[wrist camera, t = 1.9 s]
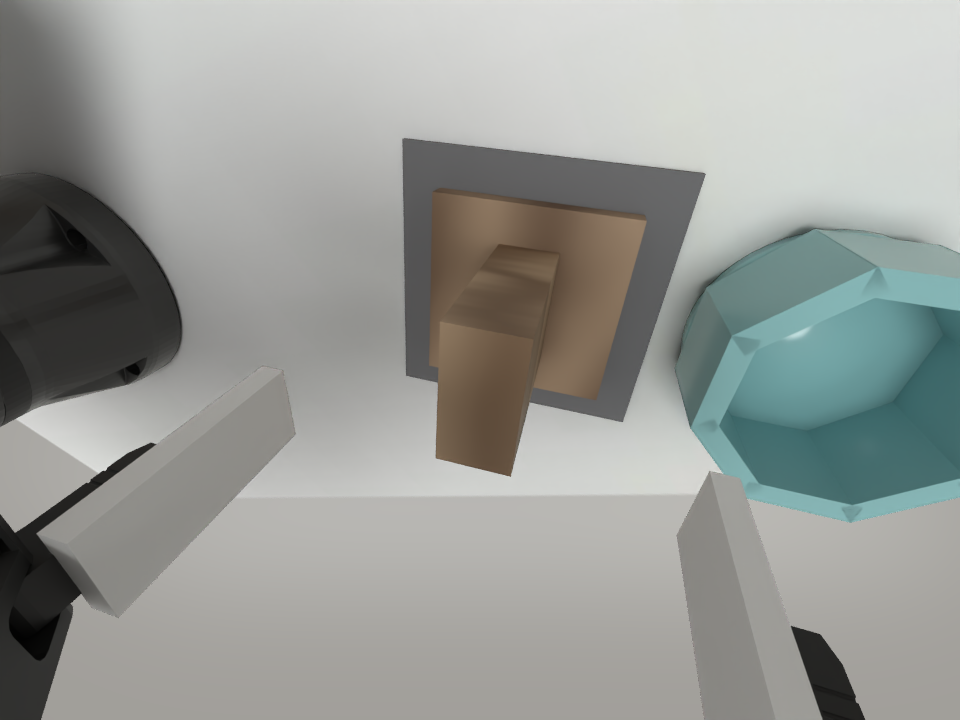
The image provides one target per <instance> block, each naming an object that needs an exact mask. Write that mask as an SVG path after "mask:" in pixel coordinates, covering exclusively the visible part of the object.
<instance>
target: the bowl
mask: <svg viewBox="0 0 960 720" xmlns="http://www.w3.org/2000/svg"><path fill="white" fill-rule="evenodd" d="M675 371H676V375H677V379H678V383H679V387H680V390H681V394H682V398H683V402H684V406H685V410H686V413H687V417H688V421H689V425H690V428H691V429H692V431H693V432H694V434H695V435H696V436H697V438H698V439H699V440H700V442H701V443H702V445H703V446H704V447H705V449H706V450H707V452H708V453H709V454H710V456H711V457H712V458H713V460H714V461H715V463H716V464H717V465H718V467H719V468H720V470H721V471H722V472H723V474H724V475H729V476H733V477H737V478H740V480H741V482H742V485H743V488H744V491H745V494H746V497H747V499H751V500H756V501H760V502H764V503H769V504H773V505H777V506H782V507H786V508H790V509H795V510H799V511H803V512H808V513H812V514H816V515H821V516H824V517H829V518H833V519H838V520H842V521H846V522H850V523H851V522H855V521H859V520H864V519H868V518H873V517H876V516H881V515H885V514H890V513H894V512H898V511H903V510H907V509H911V508H916V507H920V506H924V505H929V504H933V503H937V502H942V501H946V500H950V499H955V498H959V497H960V253H957V252H955V251H953V250H950V249H948V248H946V247H943V246H941V245H934V244H926V243H919V242H911V241H904V240H897V239H894V238H891V237H888V236H885V235H882V234H878V233H872V232H867V231H860V230H845V229H843V230H820V229H814V230H812V231H810V232H808V233H805V234H801V235H797V236H793V237H789V238H786V239H783V240H780V241H778V242H775V243H772V244H770V245H767V246H765V247H763V248H761V249H759V250H757V251H755V252H753V253H751V254H749V255H747V256H746V257H744V258H743V259H741V260H739V261H738V262H736V263H735V264H733V265H732V266H731V267H730V268H728V269H727V270H726V271H724V272H723V273H722V274H721V275H720V276H719V277H718V278H717V279H716V280H715V281H713V282H712V283H711V284H710V285H709V286H708V287H706V289H705V291H704V293H703V294H702V295H701V296H700V298H699V299H698V301H697V302H696V304H695V306H694V307H693V309H692V311H691V313H690V315H689V317H688V319H687V322H686V325H685V328H684V332H683V336H682V343H681V354H680V356H679V359H678V361H677V364H676V367H675Z"/></svg>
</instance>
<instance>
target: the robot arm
mask: <svg viewBox="0 0 960 720" xmlns="http://www.w3.org/2000/svg"><path fill="white" fill-rule="evenodd" d="M179 341H180V322H179V315H178V311H177V307H176V304H175V301H174V298H173V295H172V293H171V290H170V288H169V286H168V284H167V282H166V280H165V278H164V276H163V274H162V272H161V270H160V269H159V267H158V265H157V264H156V262H155V261H154V259H153V258H152V256H151V255H150V253H149V252H148V251H147V249H146V248H145V247H144V245H143V244H142V243H141V242H140V240H139V239H138V238H137V237H136V236H135V235H134V233H133V232H132V231H131V230H130V229H129V228H128V227H127V226H126V225H125V224H124V223H123V222H122V221H121V220H120V219H119V218H118V217H117V216H116V215H115V214H113V213H112V212H111V211H110V210H109V209H108V208H106V207H105V206H104V205H103V204H101V203H100V202H99V201H97V200H96V199H95V198H93V197H92V196H90V195H89V194H87V193H86V192H84V191H82V190H81V189H79V188H77V187H75V186H73V185H71V184H69V183H67V182H65V181H63V180H60V179H57V178H55V177H51V176H48V175H43V174H37V173H23V174H15V175H6V176H0V427H1V426H3V425H5V424H7V423H8V422H10V421H12V420H14V419H16V418H18V417H20V416H22V415H24V414H25V413H27V412H29V411H31V410H33V409H35V408H38V407H41V406H44V405H48V404H52V403H56V402H60V401H64V400H68V399H72V398H76V397H80V396H84V395H88V394H92V393H96V392H100V391H104V390H108V389H112V388H116V387H120V386H124V385H128V384H131V383H134V382H136V381H139V380H141V379H143V378H145V377H146V376H148V375H150V374H151V373H153V372H155V371H156V370H158V369H160V368H161V367H163V366H165V365H166V364H167V363H168V362H170V361H171V359H172V358H173V357H174V355H175V353H176V351H177V349H178V345H179ZM295 434H296V433H295V428H294V423H293V418H292V413H291V408H290V403H289V398H288V393H287V388H286V383H285V378H284V373H283V370H279V369H275V368H270V367H266V366H262V367H260V368H259V369H257V370H256V371H255V372H253V373H252V374H251V375H249V376H248V377H247V378H245V379H244V380H243V381H241V382H240V383H239V384H237V385H236V386H235V387H233V388H232V389H231V390H229V391H228V392H227V393H225V394H224V395H222V396H221V397H220V398H218V399H217V400H216V401H214V402H213V403H212V404H210V405H209V406H208V407H206V408H205V409H204V410H202V411H201V412H200V413H198V414H197V415H196V416H194V417H193V418H191V419H190V420H189V421H187V422H186V423H185V424H183V425H182V426H181V427H179V428H178V429H177V430H175V431H174V432H173V433H171V434H170V435H169V436H167V437H166V438H165V439H163V440H162V441H160V442H159V443H158V444H154V443H149V444H147V445H145V446H143V447H140V448H138V449H136V450H134V451H132V452H129V453H127V454H126V455H124V456H123V457H122V458H120V459H119V460H117V461H116V462H115V463H113V464H112V465H110V466H109V467H108V468H107V470H106V471H102V472H101V473H99V474H98V475H96V476H95V477H94V478H93V479H91V481H90V482H89V483H85V484H84V485H82V486H81V487H80V488H78V489H77V490H76V491H74V492H73V493H72V494H70V495H69V496H67V497H66V498H64V499H63V500H62V501H60V502H59V503H57V504H56V505H55V506H53V507H52V508H50V509H49V510H48V511H46V512H45V513H43V514H42V515H41V516H39V517H38V518H37V519H35V520H34V521H32V522H31V523H30V524H28V525H27V526H25V527H24V528H22V529H20V530H19V531H17V532H16V533H14V531H13V530H12V529H11V527H10V526H9V525H8V524H7V522H6V521H5V520H4V518H3V517H2V516H1V515H0V720H41V718H42V714H43V711H44V708H45V704H46V701H47V698H48V694H49V691H50V688H51V684H52V681H53V678H54V675H55V671H56V668H57V665H58V661H59V658H60V655H61V651H62V648H63V645H64V642H65V638H66V635H67V632H68V629H69V625H70V622H71V618H72V614H73V606H72V605H71V604H70V603H71V602H73V601H74V600H75V599H76V598H77V597H78V596H79V595H80V594H82V595H83V597H84V598H85V599H86V601H87V602H88V603H89V605H90V606H91V607H92V608H94V609H96V610H99V611H102V612H104V613H107V614H109V615H112V616H115V617H117V618H119V617H120V616H121V615H122V613H123V612H124V611H125V610H126V609H127V608H128V607H129V606H130V605H131V604H132V603H133V602H134V601H135V600H136V599H137V598H138V597H139V596H140V595H141V594H142V593H143V592H144V591H145V590H146V589H147V587H148V586H150V584H151V583H152V582H153V581H154V580H155V579H156V578H157V577H158V576H159V575H160V574H161V573H162V572H163V571H164V570H165V569H166V568H167V567H168V566H169V565H170V564H171V563H172V561H174V560H175V559H176V558H177V557H178V555H179V554H180V553H181V552H182V551H183V550H184V549H185V548H186V547H187V546H188V545H189V544H190V543H191V542H192V541H193V540H194V539H195V538H196V537H197V536H198V535H199V534H200V533H201V532H202V531H203V530H204V529H205V528H206V527H207V526H208V524H209V523H210V522H211V521H212V520H213V519H214V518H215V517H216V516H217V515H218V514H219V513H220V512H221V511H222V510H223V509H224V508H225V507H226V506H227V505H228V504H229V502H231V501H232V500H233V499H234V498H235V497H236V496H237V494H238V493H239V492H240V491H241V490H242V489H243V488H244V487H245V486H246V485H247V484H248V483H249V482H250V481H251V480H252V479H253V478H254V477H255V476H256V475H257V474H258V473H259V472H260V471H261V470H262V469H263V468H264V467H265V465H266V464H267V463H268V462H269V461H270V460H271V459H272V458H273V457H274V456H275V455H276V454H277V453H278V452H279V451H280V450H281V449H282V448H283V447H284V446H285V445H286V444H287V443H288V442H289V441H290V440H291V439H292V438H293V437H294V435H295ZM677 539H678V547H679V553H680V560H681V567H682V574H683V579H684V587H685V593H686V600H687V607H688V614H689V621H690V627H691V634H692V641H693V647H694V654H695V661H696V667H697V674H698V681H699V688H700V695H701V701H702V708H703V715H704V720H865V718H864V716H863V713H862V711H861V708H860V706H859V704H858V703H856V701H855V698H856V696H855V694H854V691H853V689H852V687H851V684H850V682H849V679H848V677H847V674H846V672H845V669H844V667H843V665H842V663H841V662H840V661H839V659H838V658H837V657H836V655H835V654H834V652H833V651H832V650H831V648H830V647H829V646H828V644H827V643H826V641H825V640H824V639H823V637H822V636H821V635H820V634H817V633H814V632H810V631H807V630H804V629H800V628H796V627H793V626H790V623H789V621H788V617H787V614H786V611H785V608H784V605H783V603H782V600H781V597H780V594H779V591H778V588H777V585H776V582H775V579H774V576H773V573H772V570H771V567H770V565H769V562H768V559H767V556H766V553H765V550H764V547H763V544H762V541H761V538H760V535H759V532H758V529H757V526H756V524H755V521H754V518H753V515H752V512H751V509H750V506H749V503H748V500H747V497H746V494H745V491H744V488H743V485H742V482H741V480H740V478H737V477H733V476H729V475H724V474H720V473H716V472H712V471H709V473H708V475H707V477H706V479H705V481H704V483H703V485H702V487H701V489H700V491H699V493H698V495H697V497H696V499H695V501H694V503H693V505H692V507H691V509H690V510H689V512H688V514H687V516H686V518H685V520H684V522H683V524H682V526H681V528H680V530H679V532H678V534H677Z"/></svg>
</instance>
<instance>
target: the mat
mask: <svg viewBox="0 0 960 720" xmlns="http://www.w3.org/2000/svg"><path fill="white" fill-rule="evenodd" d="M705 175H706V174H705V173H698V172H689V171H681V170H672V169H664V168H655V167H646V166H638V165H629V164H621V163H612V162H603V161H595V160H586V159H578V158H569V157H560V156H552V155H543V154H535V153H526V152H517V151H509V150H500V149H492V148H483V147H474V146H466V145H457V144H449V143H440V142H431V141H423V140H414V139H406V138H404V139H403V201H404V264H405V327H406V376H410V377H415V378H420V379H424V380H429V381H434V382H438V370H439V368H438V367H434V366H429V345H430V291H431V237H432V192H433V191H435V190H437V189H439V188H447V189H455V190H462V191H470V192H477V193H484V194H492V195H499V196H507V197H514V198H522V199H529V200H536V201H544V202H551V203H559V204H566V205H573V206H581V207H588V208H596V209H603V210H611V211H618V212H625V213H633V214H640V215H645V217H646V220H647V222H646V226H645V230H644V233H643V237H642V240H641V244H640V247H639V251H638V254H637V258H636V261H635V265H634V268H633V272H632V276H631V279H630V283H629V286H628V290H627V293H626V297H625V300H624V304H623V307H622V311H621V315H620V318H619V322H618V325H617V329H616V332H615V336H614V339H613V343H612V346H611V350H610V353H609V357H608V361H607V364H606V368H605V371H604V375H603V378H602V382H601V385H600V389H599V392H598V396H597V400H592V399H587V398H582V397H577V396H572V395H568V394H563V393H558V392H553V391H549V390H544V389H539V388H534V387H533V390H532V394H531V398H530V402H531V403H536V404H541V405H545V406H550V407H555V408H559V409H564V410H569V411H573V412H578V413H583V414H587V415H592V416H597V417H601V418H606V419H611V420H615V421H620V422H623V419H624V416H625V413H626V410H627V407H628V404H629V401H630V398H631V395H632V392H633V389H634V386H635V383H636V380H637V377H638V374H639V372H640V369H641V366H642V363H643V360H644V357H645V354H646V351H647V348H648V345H649V342H650V339H651V336H652V333H653V330H654V327H655V324H656V321H657V318H658V315H659V312H660V309H661V306H662V303H663V300H664V297H665V294H666V291H667V288H668V285H669V282H670V279H671V276H672V273H673V270H674V267H675V264H676V261H677V258H678V255H679V252H680V249H681V246H682V243H683V240H684V237H685V234H686V231H687V228H688V225H689V222H690V219H691V216H692V213H693V210H694V207H695V204H696V201H697V198H698V195H699V192H700V190H701V187H702V184H703V181H704V178H705Z"/></svg>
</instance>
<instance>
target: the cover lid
mask: <svg viewBox="0 0 960 720" xmlns="http://www.w3.org/2000/svg"><path fill="white" fill-rule="evenodd" d="M646 222H647V220H646V217H645V215H640V214H633V213H625V212H618V211H611V210H603V209H596V208H588V207H581V206H573V205H566V204H559V203H551V202H544V201H536V200H529V199H522V198H514V197H507V196H499V195H492V194H484V193H477V192H470V191H462V190H455V189H447V188H439V189H437V190H435V191H433V192H432V237H431V291H430V345H429V366H434V367H438V368H439V370H438V401H437V432H436V458H437V459H441V460H445V461H449V462H453V463H457V464H461V465H465V466H470V467H474V468H478V469H482V470H486V471H490V472H494V473H498V474H502V475H506V476H510V477H511V473H512V469H513V465H514V461H515V457H516V453H517V449H518V445H519V441H520V437H521V433H522V430H523V426H524V422H525V418H526V414H527V410H528V406H529V402H530V398H531V394H532V390H533V387H534V388H539V389H544V390H549V391H553V392H558V393H563V394H568V395H572V396H577V397H582V398H587V399H592V400H597V396H598V392H599V389H600V385H601V382H602V378H603V375H604V371H605V368H606V364H607V361H608V357H609V353H610V350H611V346H612V343H613V339H614V336H615V332H616V329H617V325H618V322H619V318H620V315H621V311H622V307H623V304H624V300H625V297H626V293H627V290H628V286H629V283H630V279H631V276H632V272H633V268H634V265H635V261H636V258H637V254H638V251H639V247H640V244H641V240H642V237H643V233H644V230H645V226H646Z"/></svg>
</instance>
